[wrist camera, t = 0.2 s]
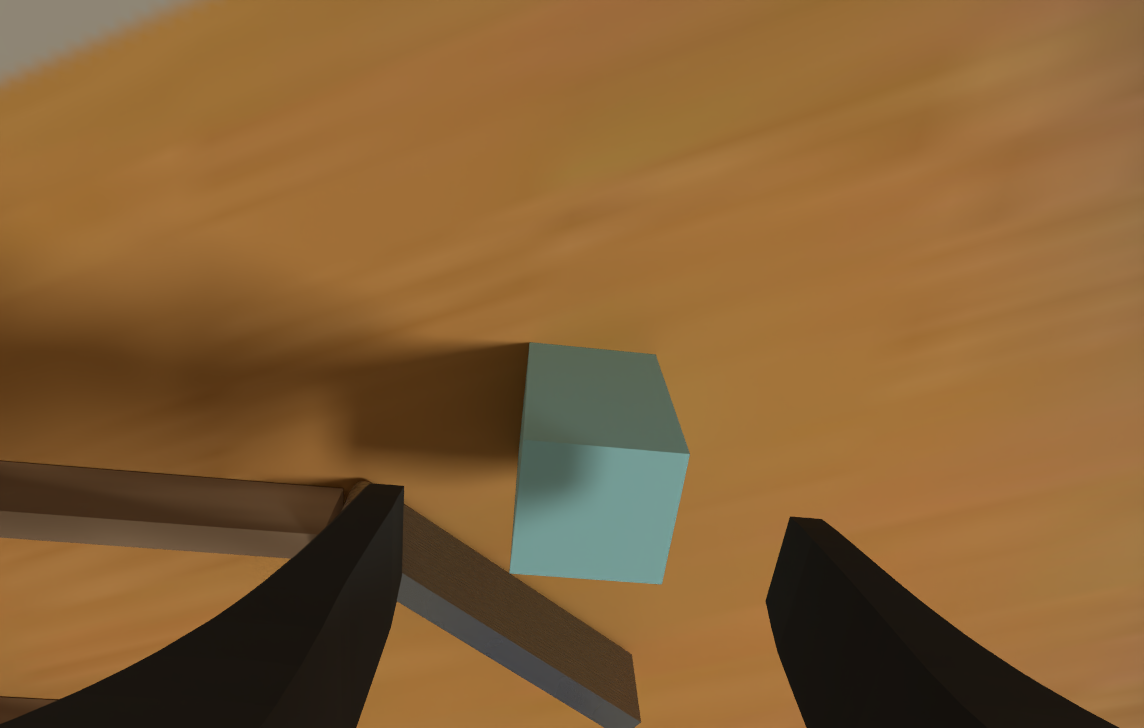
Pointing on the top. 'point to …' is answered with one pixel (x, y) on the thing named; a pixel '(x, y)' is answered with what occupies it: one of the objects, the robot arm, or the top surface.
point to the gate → (513, 623)
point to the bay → (157, 516)
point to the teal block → (596, 466)
